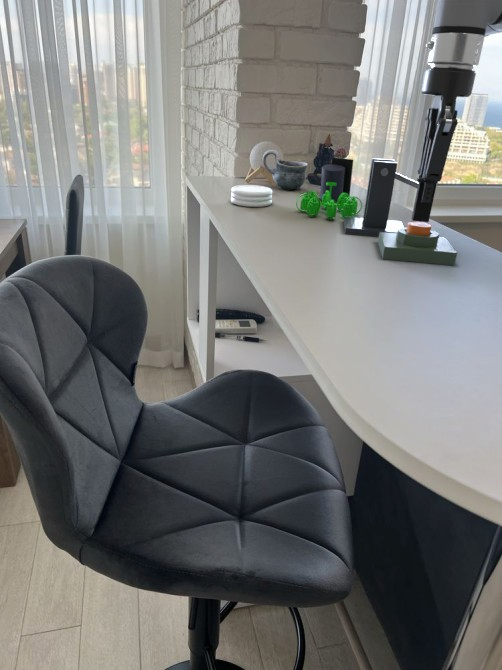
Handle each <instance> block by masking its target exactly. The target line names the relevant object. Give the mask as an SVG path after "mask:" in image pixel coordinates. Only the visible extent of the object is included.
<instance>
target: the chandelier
mask: <svg viewBox="0 0 502 670" xmlns="http://www.w3.org/2000/svg"><path fill="white" fill-rule="evenodd" d="M336 184H337V183H334V182H327V183H326V185H328V186H330V193H329V191H326V192H325V194H323V197H322V199H320V197H319V195H318V194H317V192H316V191H314V190H308V191H306V192H305V193H301V194H300V195H299V196H298V197H297V198H296V201H295V205H296V206H295V207H296V208H297V210H298V212H301V213H304V214H307V216H308V217H311V218H314V217H316V216H318V214H319V213H320V211H321V207H323V208H324V210H325V211H326V212H325V217H327V218H328V219H329V220H330V221H332V220H333V219H334V218H336V216H337V210H338V211H339V214H340V215H341V217H342V218H343V219H344V217H354V218H355V216H356V215H358V214H359V213H360V212H361V211H362V208H363V203H362V200H361V199H360V197H358V196H353V195H352V196H351V195H350V197H349V194H347V193H342V194H341V195H340V196H339V198H338V201H337V202H334V200H331V190H332V186H336ZM346 195H347V197H346ZM300 198H301V200H300ZM299 200H300V206H298V201H299ZM358 201H359V202H360V208H359V210H358ZM299 207H300V208H299ZM357 210H358V211H357Z"/></svg>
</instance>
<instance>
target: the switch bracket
mask: <svg viewBox="0 0 502 670" xmlns="http://www.w3.org/2000/svg"><path fill="white" fill-rule="evenodd" d="M370 164H371V165H370V169H369V170H370V171H369V178H368V184H367V190H366V198H365V204H364V210H363V217H355V216H354V217H352V216H351V217H344V218H343V230H344V234H345V235H353V236H354V235H355V236H356V235H357V236H366V237H376V238H377V237H378V238H379V232H386V233H397V230H398V229H399V228H402V227H405V226H404V225H403V222H402V221H400V220H389V215H390V210H391V204H392V199H393V198H392V197H393V192H394V186H395V180H396V179H395V175H396V173H397V168H398V162H396V160H395V159H389V158H375V157H372V158H371V163H370Z"/></svg>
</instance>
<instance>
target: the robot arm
mask: <svg viewBox="0 0 502 670" xmlns="http://www.w3.org/2000/svg"><path fill="white" fill-rule="evenodd" d="M432 27H433V28H432V32H431V39H430V41H427V42H426V43H425V48H426V49H427V50H429V51H428V54H427V59H426V63H427V64H428V65H430V66H429V68H426V70H424V73H423V80H422V85H421V94H422V95H425V96H433V97H434V98H433V100H432V103H431V107H429V108H427V111H426V116H425V117H424V120H425V121H424V132H423V136H422V137H423V138H422V144H421V152H420V157H419V165H418V169H417V175H418V177H416V182H418V188H416V193H415V197H414V198H415V199H414V203H413V207H412V208H413V209H412V215H411V222H424V223H429V222H430V217H431V213H432V208H433V204H434V199H435V194H436V190H437V185H438V182H441V181H442V179H443V173H444V169H445V166H446V162H447V159H448V156H449V155H448V154H449V151H450V148H451V144H452V141H453V136H454V135H455V131H456V128H457V126H458V123H459V122H458V119H457V117H458V110H456V105H457V99H458V98H469V97H471V95H472V93H473V90H474V89H473V88H474V83H475V81H476V77H477V76H476V75H477V73H476V71H475V70H474V67H478V65H479V63H480V60H481V55H482V50H483V46H484V42H485V37H488V36H490V35H495V34H499V33H502V0H437V3H436V10H435V16H434V22H433V26H432Z"/></svg>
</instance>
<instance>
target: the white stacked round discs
mask: <svg viewBox="0 0 502 670" xmlns="http://www.w3.org/2000/svg"><path fill="white" fill-rule="evenodd" d="M230 192H231V193H230V197H231V198H230V202H231V203H232V204H234V205H236V206H240V207H245V208H246V207H247V208H262V207H268V206H270V205H271V204H272V202H273V200H272V199H273V190H272V188H270V187H268V186H265V185H256V184H238V185H234V186H232V187H231V189H230Z"/></svg>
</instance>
